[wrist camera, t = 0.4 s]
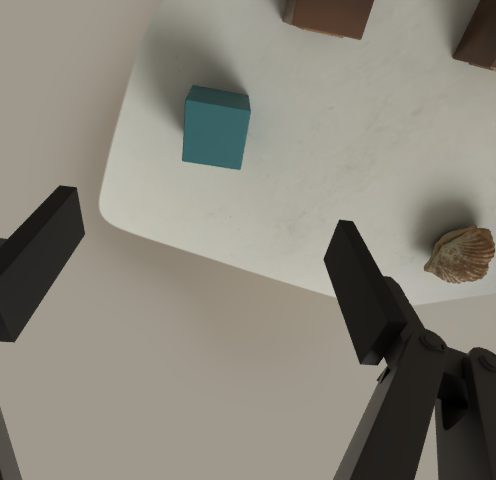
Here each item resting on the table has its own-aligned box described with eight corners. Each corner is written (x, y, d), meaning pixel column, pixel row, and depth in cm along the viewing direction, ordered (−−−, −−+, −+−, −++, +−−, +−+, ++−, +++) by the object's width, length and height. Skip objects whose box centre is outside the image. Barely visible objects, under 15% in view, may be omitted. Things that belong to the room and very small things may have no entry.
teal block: (192, 85, 33) (185, 99, 28) (248, 95, 34) (251, 110, 29) (188, 142, 37) (181, 162, 32) (239, 150, 38) (240, 171, 33)
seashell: (406, 252, 49) (445, 270, 51) (423, 284, 43) (466, 304, 45) (455, 207, 44) (496, 229, 45) (482, 237, 38) (528, 261, 40)
